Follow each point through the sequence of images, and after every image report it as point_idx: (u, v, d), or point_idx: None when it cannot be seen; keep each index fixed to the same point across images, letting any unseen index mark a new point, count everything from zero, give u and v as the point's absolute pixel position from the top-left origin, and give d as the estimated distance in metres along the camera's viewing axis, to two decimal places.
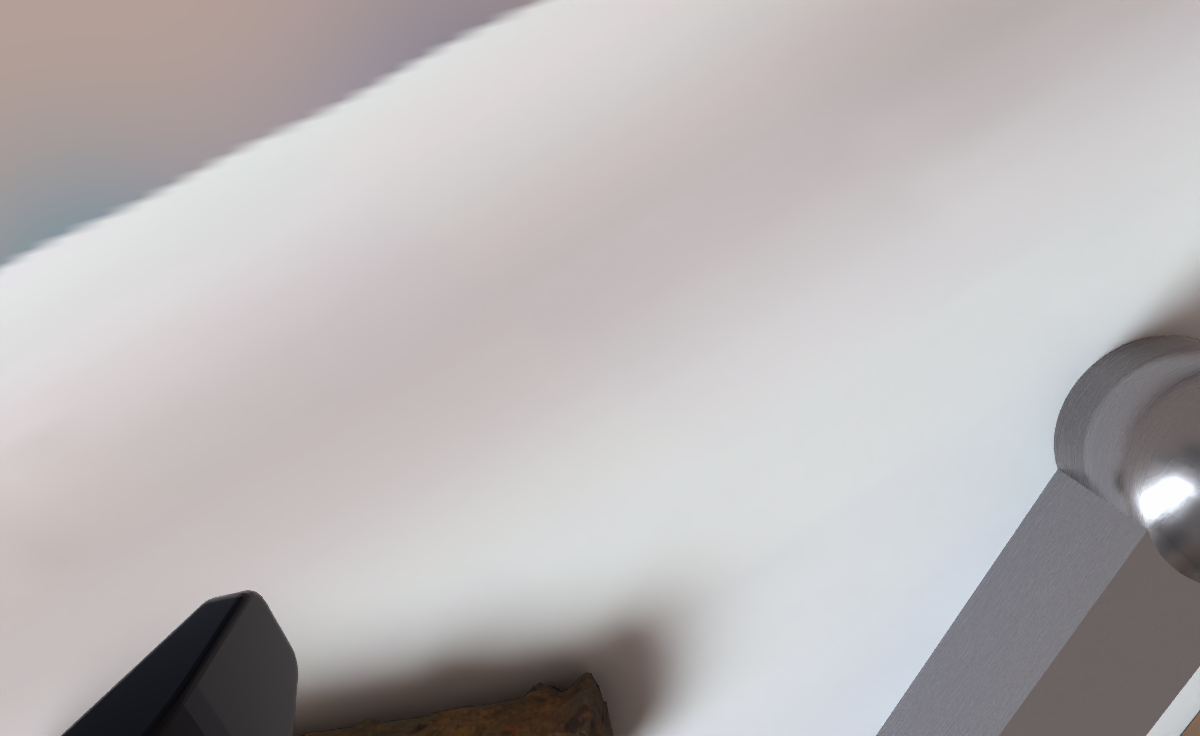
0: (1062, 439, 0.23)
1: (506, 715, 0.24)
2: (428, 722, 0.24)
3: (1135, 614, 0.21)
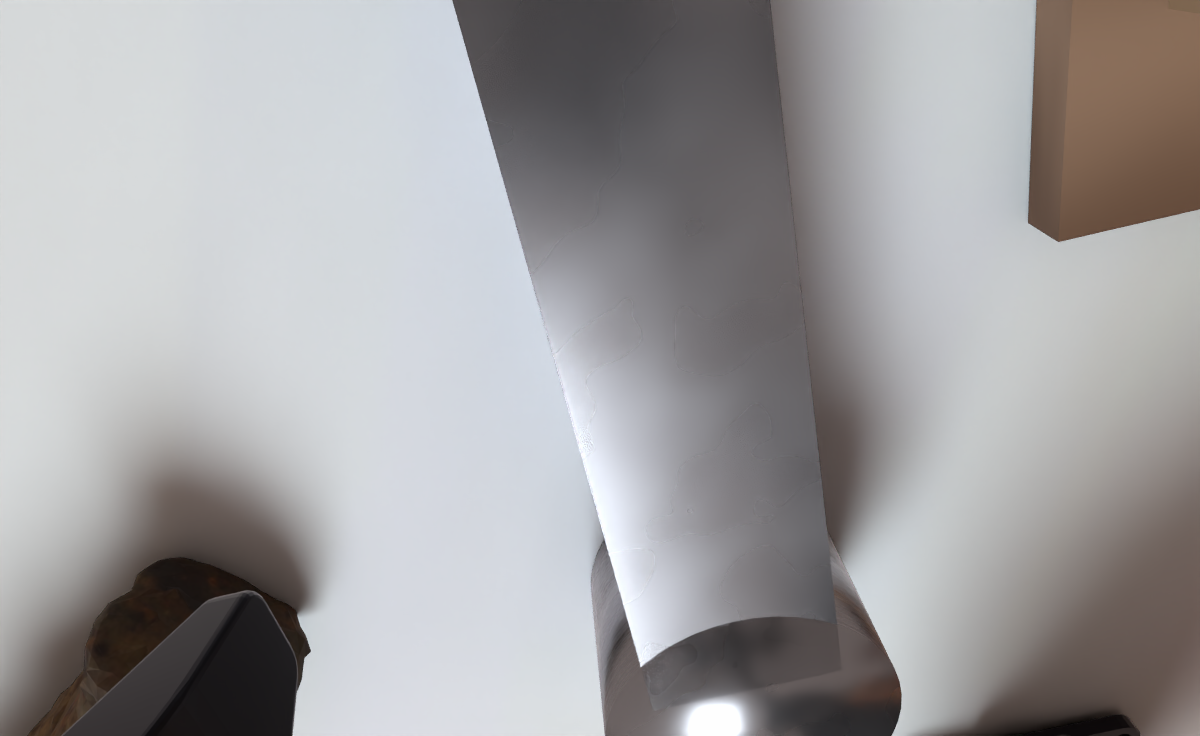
0: None
1: None
2: None
3: None
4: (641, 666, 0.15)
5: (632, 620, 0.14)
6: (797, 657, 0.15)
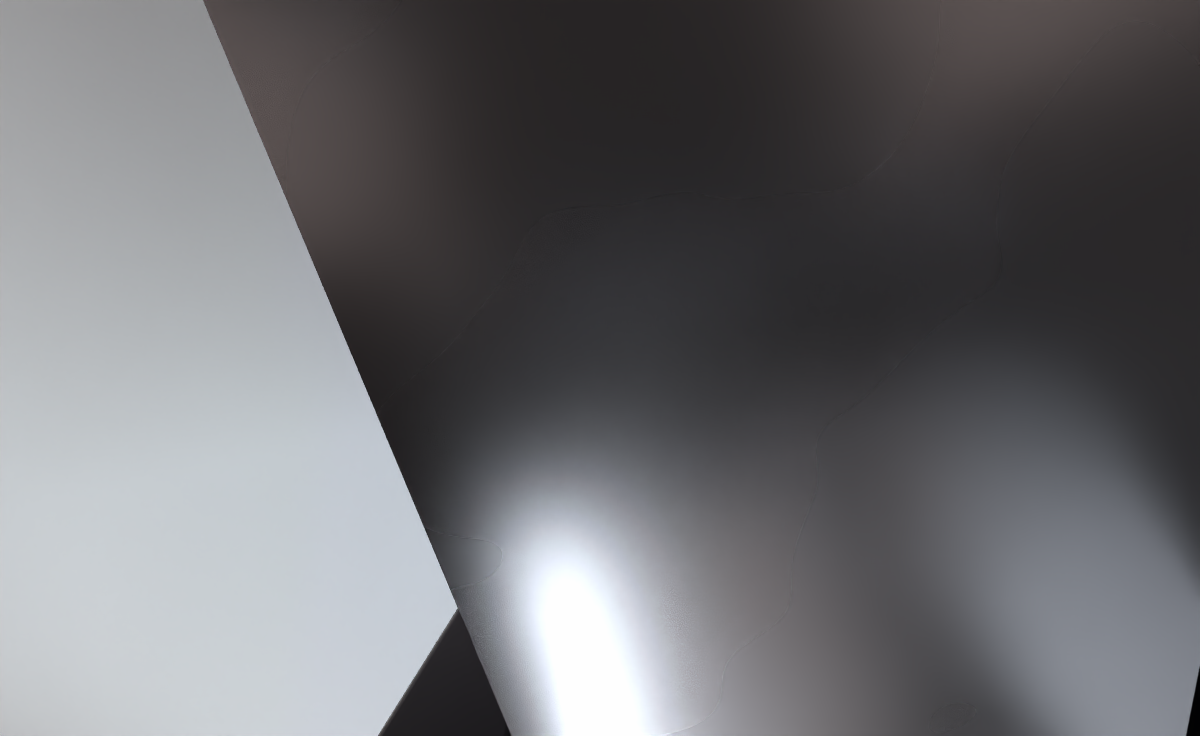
0: None
1: None
2: None
3: None
4: None
5: None
6: None
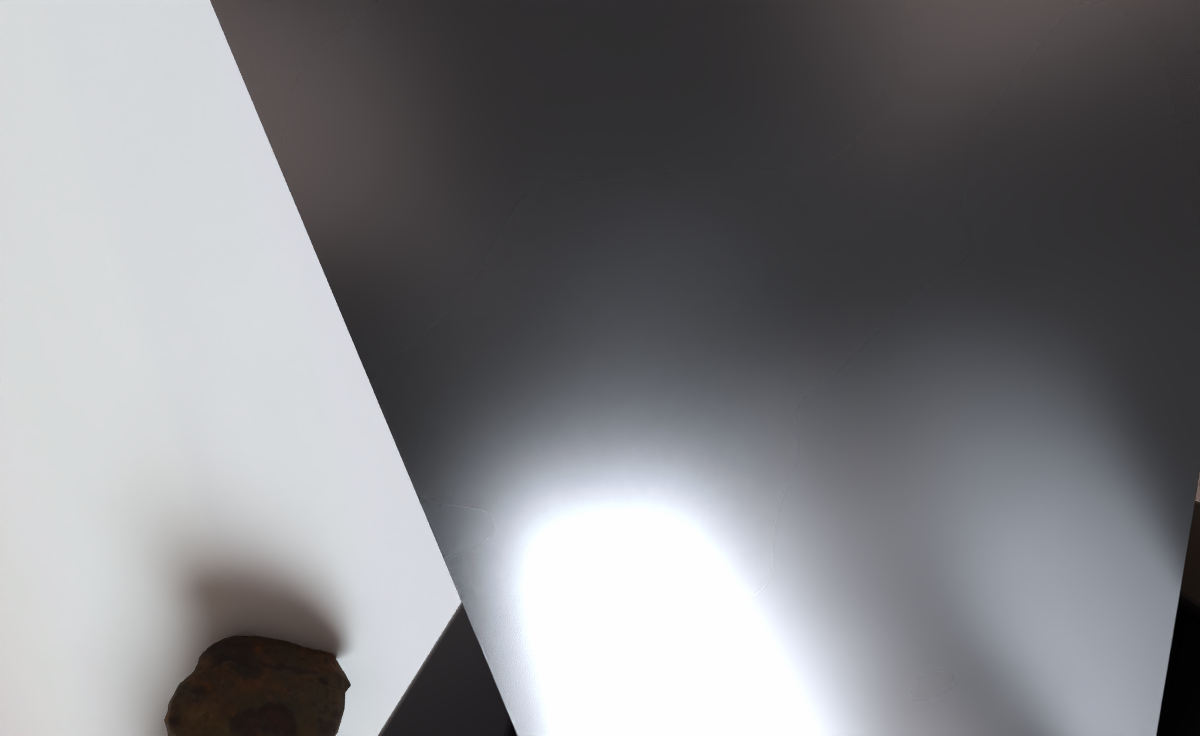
0: None
1: None
2: None
3: None
4: None
5: None
6: None
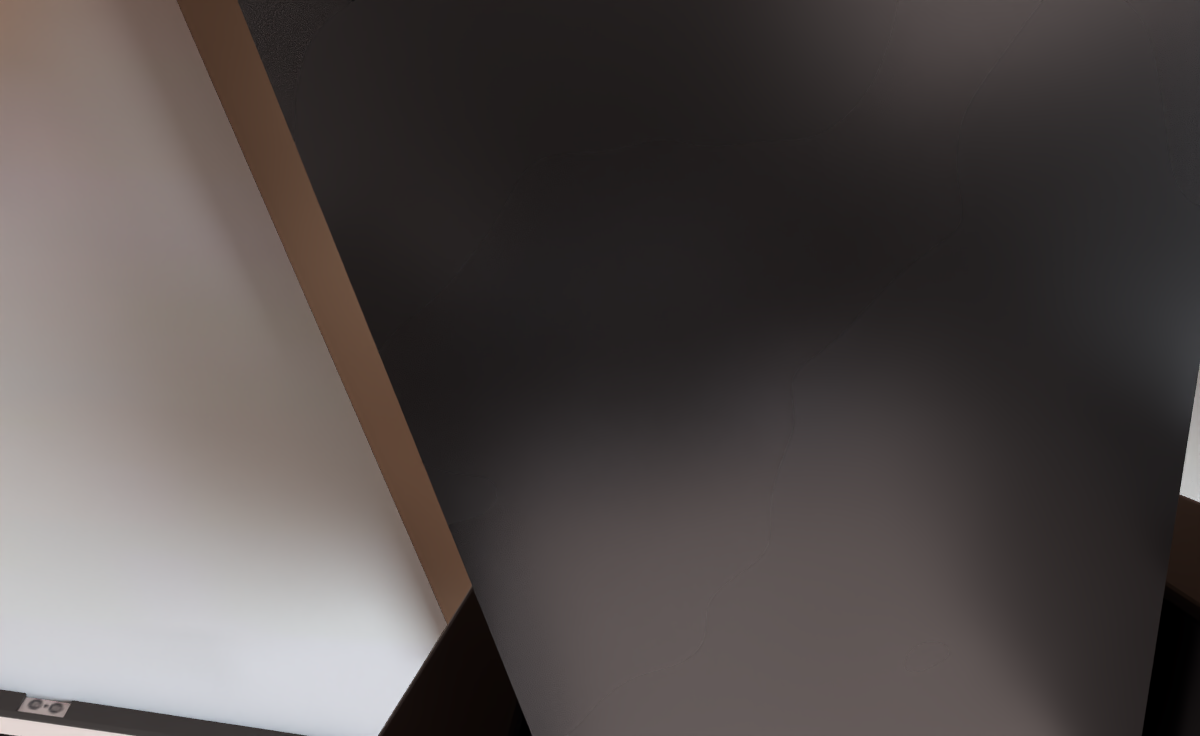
0: None
1: None
2: None
3: None
4: None
5: None
6: None
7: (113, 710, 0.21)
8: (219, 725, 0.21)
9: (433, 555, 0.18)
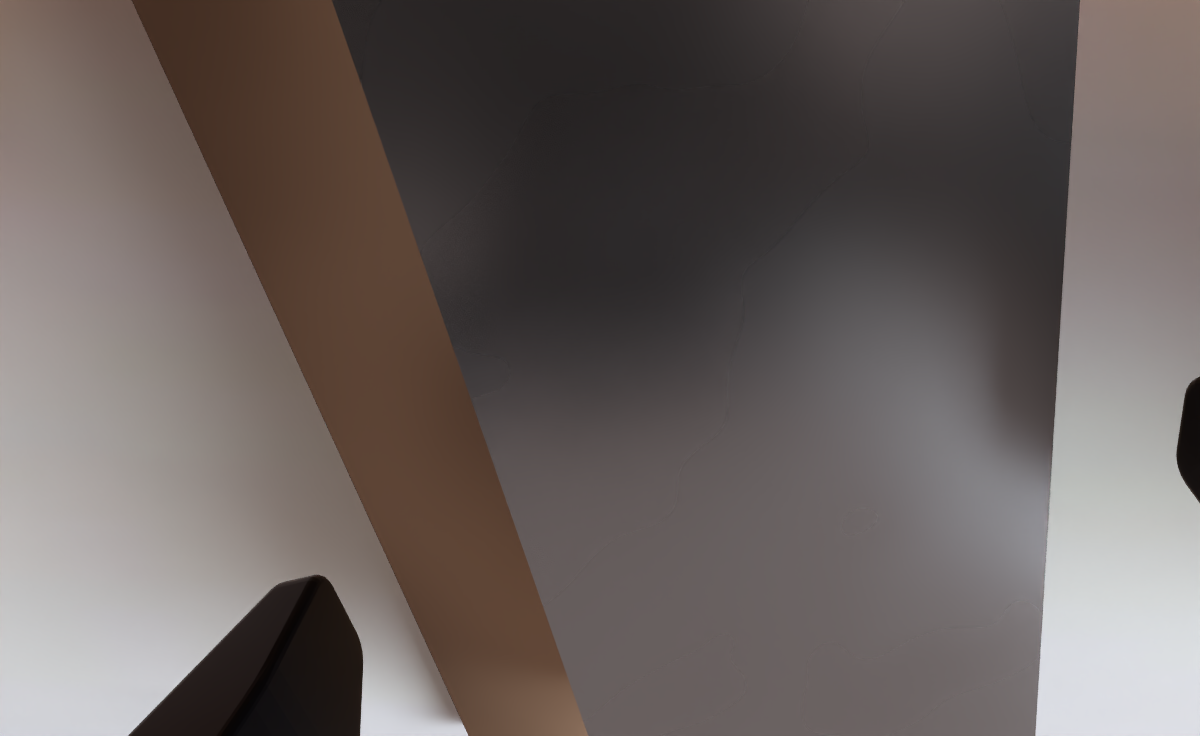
0: None
1: None
2: None
3: None
4: None
5: None
6: None
7: None
8: None
9: (431, 616, 0.16)
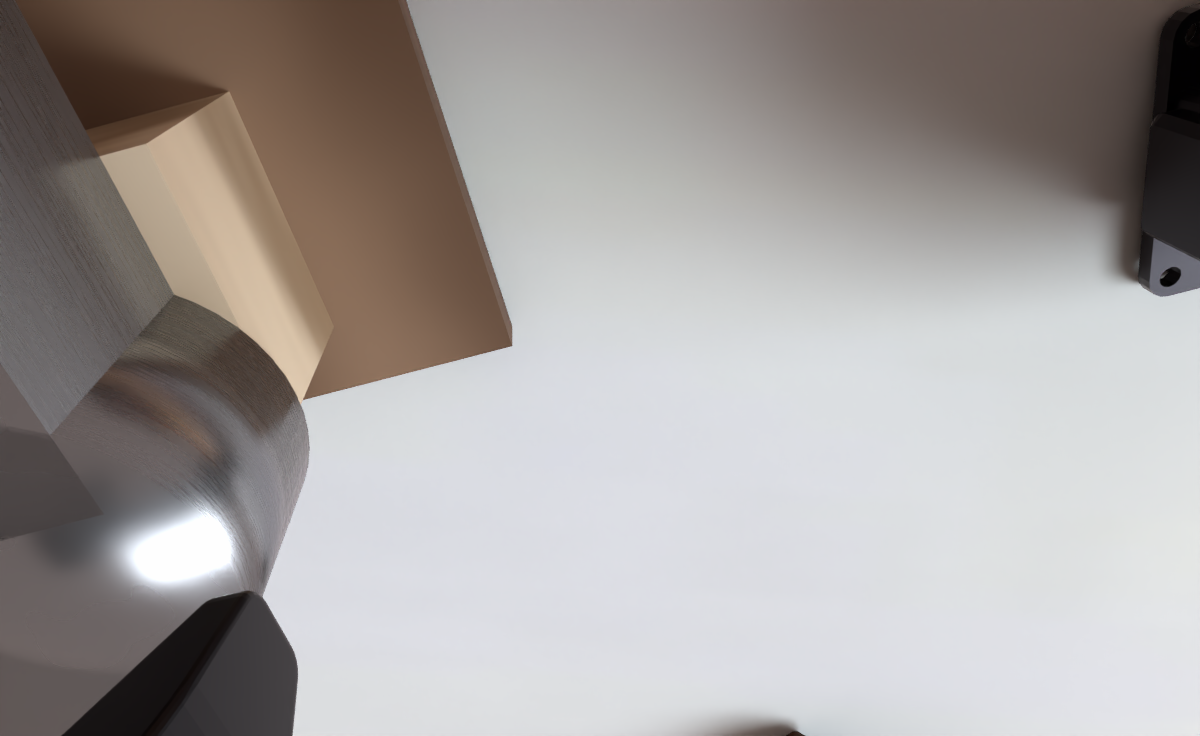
0: None
1: None
2: None
3: None
4: None
5: None
6: (15, 492, 0.10)
7: None
8: None
9: None
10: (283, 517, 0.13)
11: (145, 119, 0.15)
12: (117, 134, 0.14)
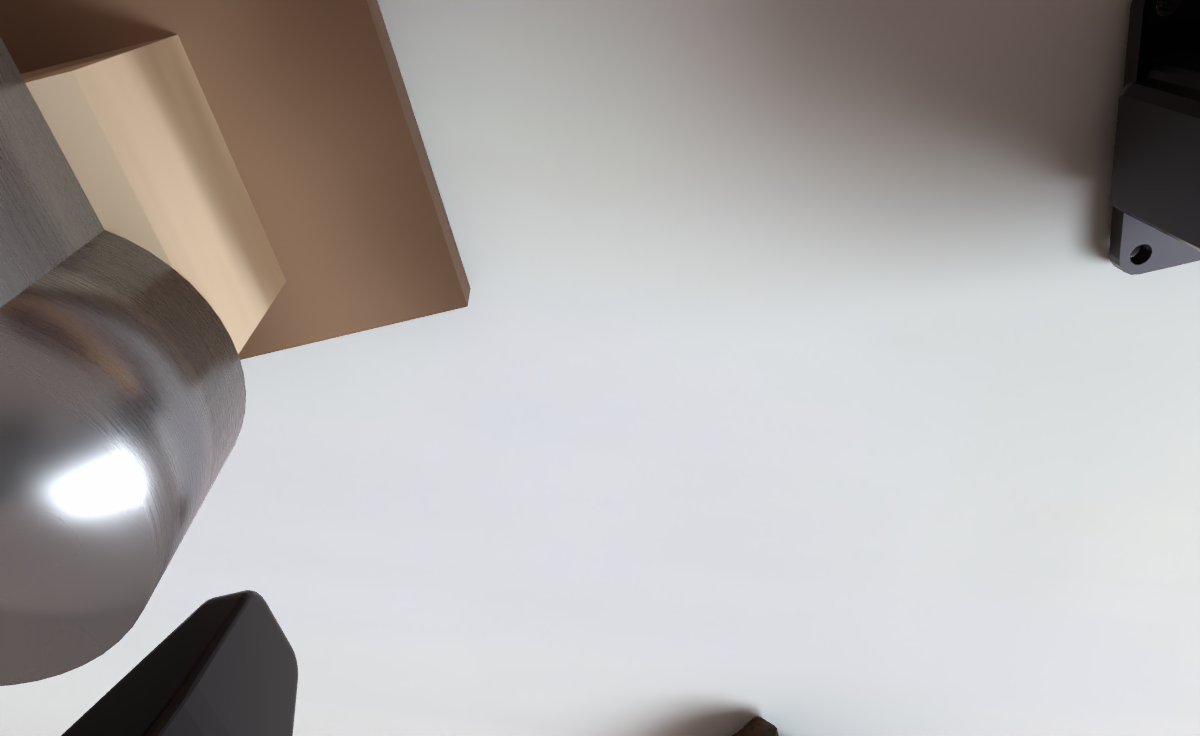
0: None
1: None
2: None
3: None
4: None
5: None
6: None
7: None
8: None
9: None
10: (208, 458, 0.13)
11: (89, 58, 0.14)
12: (55, 69, 0.13)
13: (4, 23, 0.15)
